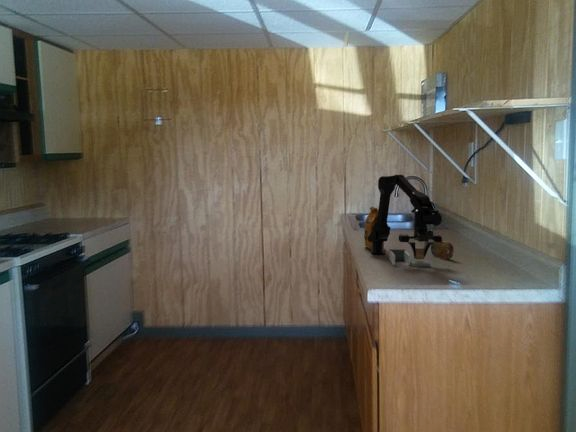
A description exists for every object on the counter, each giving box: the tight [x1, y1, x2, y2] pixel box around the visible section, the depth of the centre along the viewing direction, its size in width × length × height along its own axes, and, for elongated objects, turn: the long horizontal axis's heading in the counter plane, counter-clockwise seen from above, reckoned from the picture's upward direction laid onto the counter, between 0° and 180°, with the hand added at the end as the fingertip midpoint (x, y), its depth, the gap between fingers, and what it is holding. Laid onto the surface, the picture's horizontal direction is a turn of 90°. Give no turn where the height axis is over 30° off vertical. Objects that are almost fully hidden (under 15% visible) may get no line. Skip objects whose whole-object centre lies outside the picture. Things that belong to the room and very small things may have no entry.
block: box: [413, 246, 425, 260], centre depth 256 cm, size 4×4×5 cm
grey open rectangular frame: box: [388, 248, 411, 266], centre depth 260 cm, size 13×8×5 cm, turn 178°
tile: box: [410, 259, 431, 267], centre depth 255 cm, size 8×8×1 cm
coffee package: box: [363, 206, 385, 251], centre depth 294 cm, size 10×12×22 cm
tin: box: [430, 240, 454, 260], centre depth 270 cm, size 15×3×8 cm, turn 21°
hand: (419, 256), depth 255 cm, fingers closed on block, 4 cm apart
